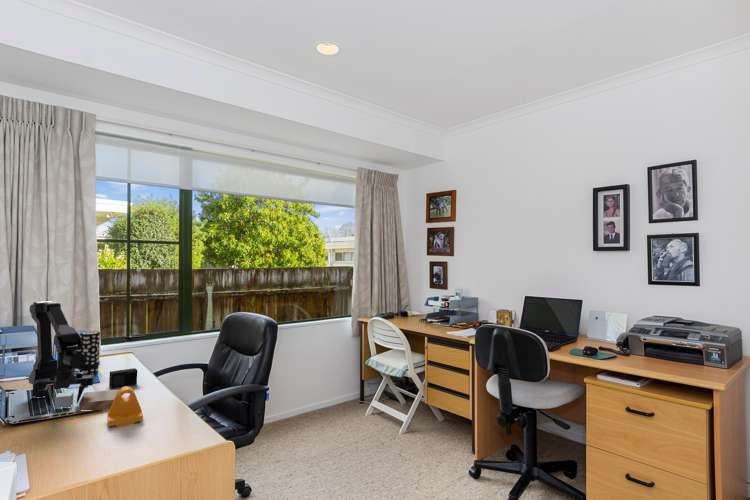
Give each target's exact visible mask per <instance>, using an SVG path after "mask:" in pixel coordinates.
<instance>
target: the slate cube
mask: <svg viewBox="0 0 750 500" xmlns="http://www.w3.org/2000/svg"><path fill="white" fill-rule="evenodd" d="M72 404H73V405H74V391H69V392H59V393H57V394H56V396H55V402H54V409H55V408H57V407H71V405H72ZM73 405H72V406H73ZM71 408H72V407H71Z"/></svg>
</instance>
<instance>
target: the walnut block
mask: <svg viewBox="0 0 750 500" xmlns="http://www.w3.org/2000/svg"><path fill="white" fill-rule="evenodd" d="M120 389H121V388H117V389H110V390H109V389H108V390H98V391H97V390H96V391H89V392H88V391H87V392H86V391H85V392H83V394H82V397H81V398H80V399H79V402H78V412H79V411H81V410H93V411H92V412H95V411H104V410H110V408H111V406H112V403H113V401H114V399H115V397H116V395H117V393H118V391H119V390H120Z"/></svg>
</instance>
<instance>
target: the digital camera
mask: <svg viewBox="0 0 750 500" xmlns="http://www.w3.org/2000/svg"><path fill="white" fill-rule="evenodd" d="M108 377H109V378H108V379H109V380H108V382H109V383H108V387H109V389H110V390H116V389H121V388H122V387H125V386H129V387H131V386H133V387H134V386H137V385H138V369H137V368H135V367H134V368H127V369H119V370H113V371H112V370H111V371H109V376H108Z"/></svg>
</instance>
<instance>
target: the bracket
mask: <svg viewBox="0 0 750 500" xmlns="http://www.w3.org/2000/svg"><path fill="white" fill-rule="evenodd" d="M119 389H120V390H119V391H118V393H117V395H116V397H115V399H114V401H113V403H112V406H111V408H110V409H108V413H107V419H106V420H107V426H108V427H111V426H112V427H113V426H115V427H116V428H119V427H127V426H131V425H130V424H133V425H135V423H137V422H142V421H143V419H144V414H143V409H142V407H141V405H140V403H139V401H138V399H137V395H136V393H135V390H134V389H133V387H131V386H125V387H121V388H119ZM125 394H129V396H127V397H123V396H124V395H125ZM126 425H127V426H126Z"/></svg>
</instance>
